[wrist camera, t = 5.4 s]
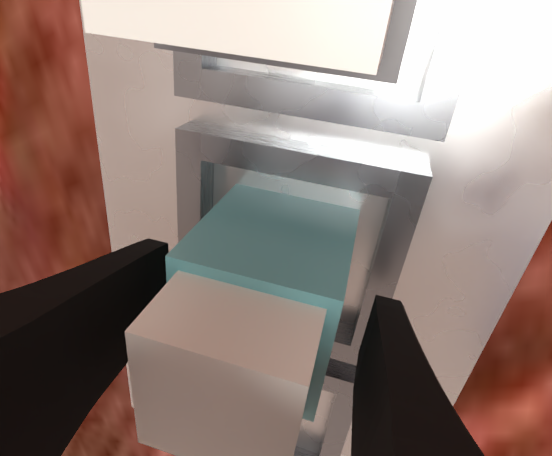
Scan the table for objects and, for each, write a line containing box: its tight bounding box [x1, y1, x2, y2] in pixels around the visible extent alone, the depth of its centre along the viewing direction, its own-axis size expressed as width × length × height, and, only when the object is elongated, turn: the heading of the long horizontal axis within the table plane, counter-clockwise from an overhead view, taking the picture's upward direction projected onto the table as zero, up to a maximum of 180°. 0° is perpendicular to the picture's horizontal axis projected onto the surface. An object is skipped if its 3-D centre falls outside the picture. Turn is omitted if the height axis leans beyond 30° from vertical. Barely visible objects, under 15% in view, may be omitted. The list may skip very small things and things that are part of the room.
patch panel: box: [79, 0, 552, 456], centre depth 13 cm, size 14×24×2 cm, turn 174°
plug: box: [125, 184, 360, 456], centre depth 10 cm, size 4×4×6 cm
